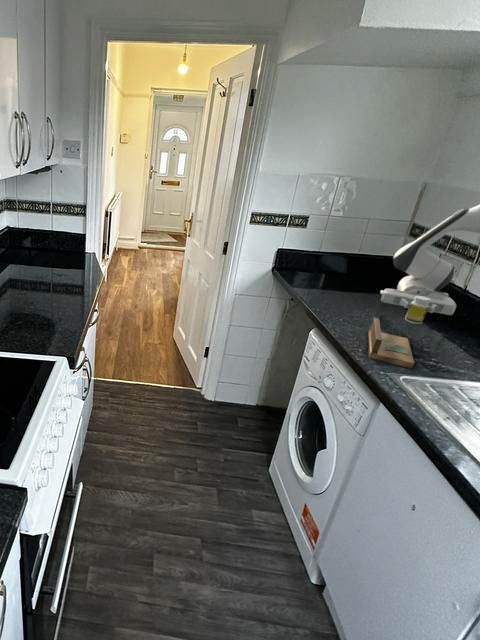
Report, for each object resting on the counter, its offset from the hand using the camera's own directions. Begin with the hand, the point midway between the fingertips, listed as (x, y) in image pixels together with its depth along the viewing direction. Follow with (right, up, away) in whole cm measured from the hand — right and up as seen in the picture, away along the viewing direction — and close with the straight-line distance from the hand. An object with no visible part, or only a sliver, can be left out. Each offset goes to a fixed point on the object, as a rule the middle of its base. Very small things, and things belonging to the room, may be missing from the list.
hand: (419, 308), depth 134 cm
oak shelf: (-4, -14, +9) cm, 17 cm away
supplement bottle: (0, -4, +3) cm, 5 cm away
